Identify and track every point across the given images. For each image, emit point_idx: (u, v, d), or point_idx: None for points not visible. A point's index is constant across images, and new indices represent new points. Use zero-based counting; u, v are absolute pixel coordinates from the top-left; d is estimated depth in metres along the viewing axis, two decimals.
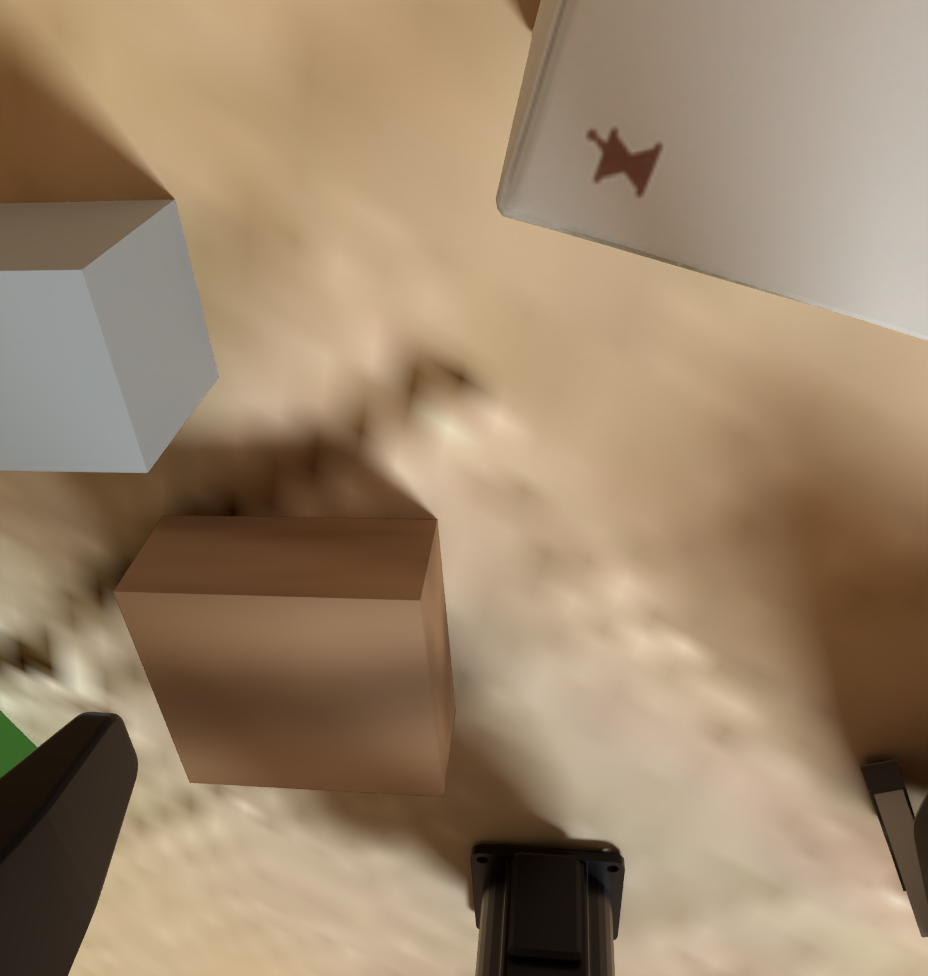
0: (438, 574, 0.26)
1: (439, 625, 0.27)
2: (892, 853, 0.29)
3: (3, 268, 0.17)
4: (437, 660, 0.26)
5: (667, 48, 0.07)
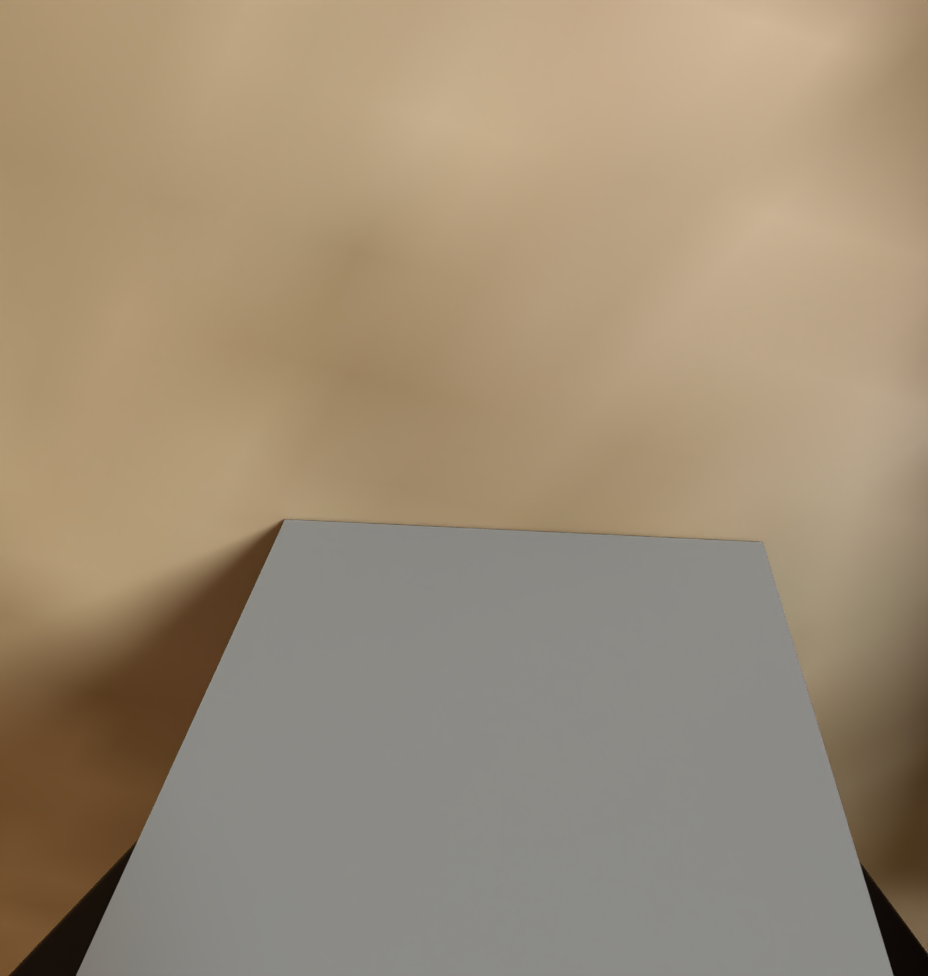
0: None
1: None
2: None
3: None
4: None
5: None
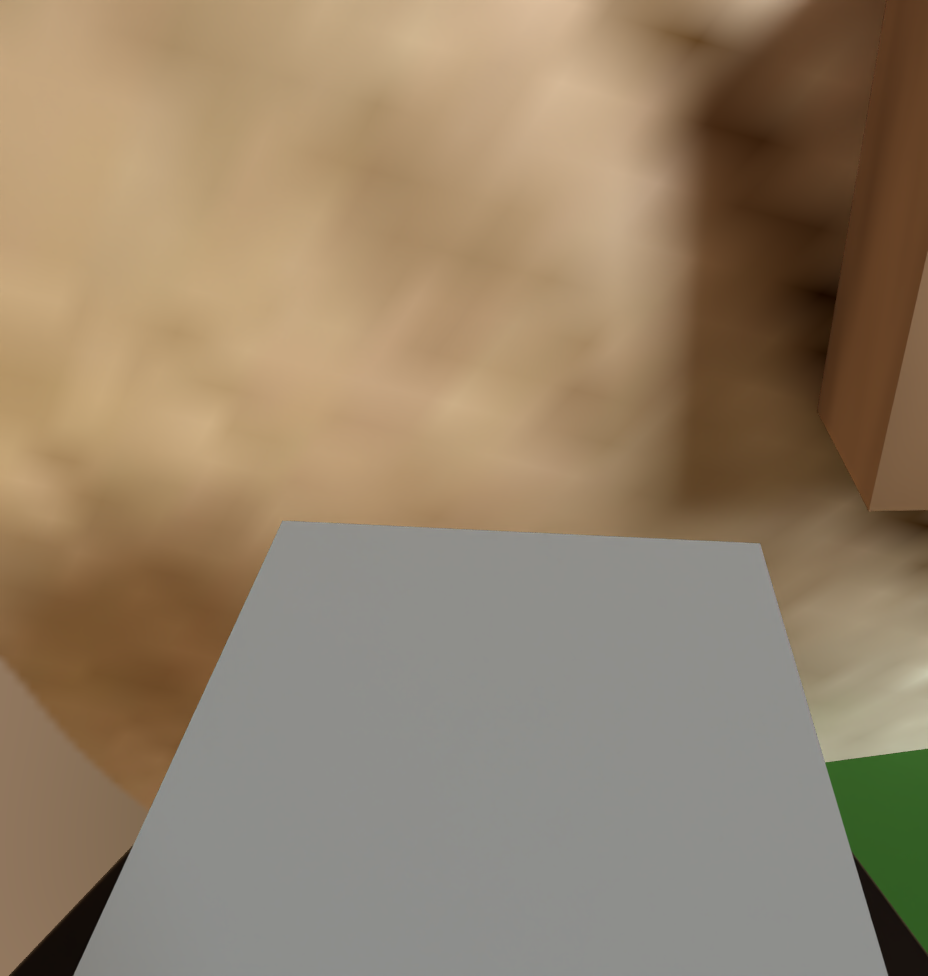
0: None
1: None
2: None
3: None
4: None
5: None
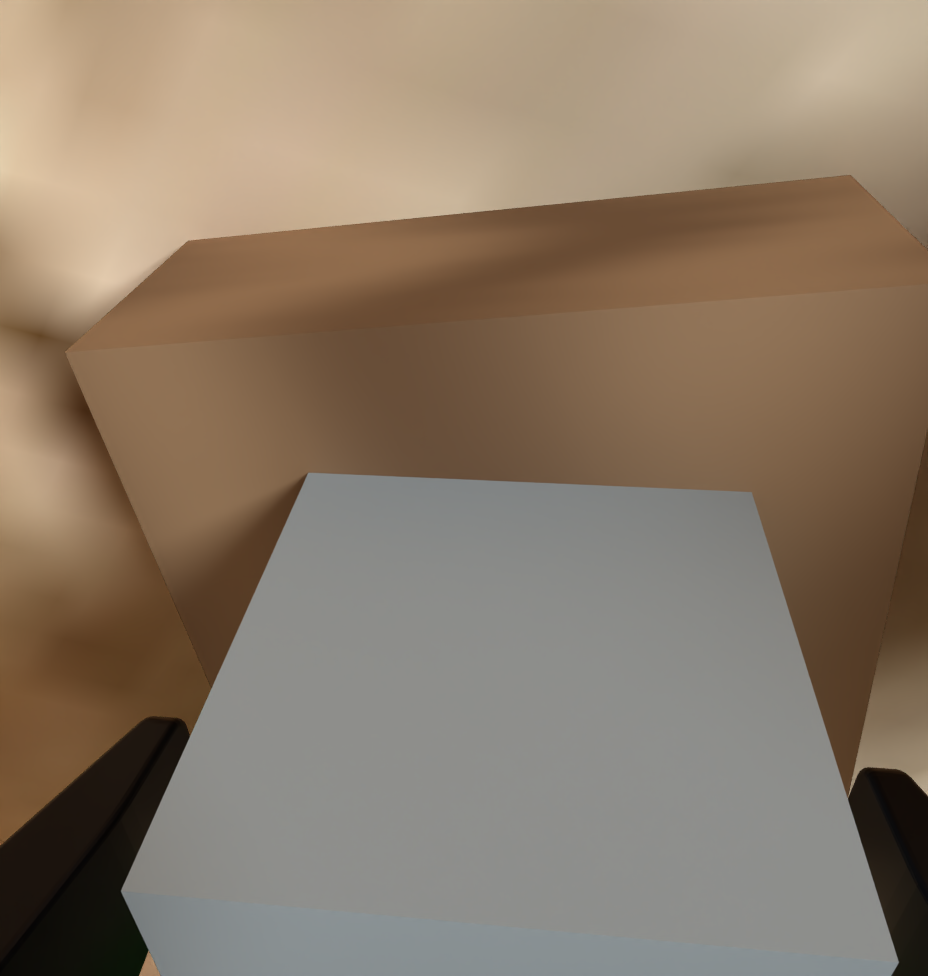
0: (286, 245, 0.11)
1: (387, 252, 0.10)
2: None
3: None
4: (433, 273, 0.10)
5: None
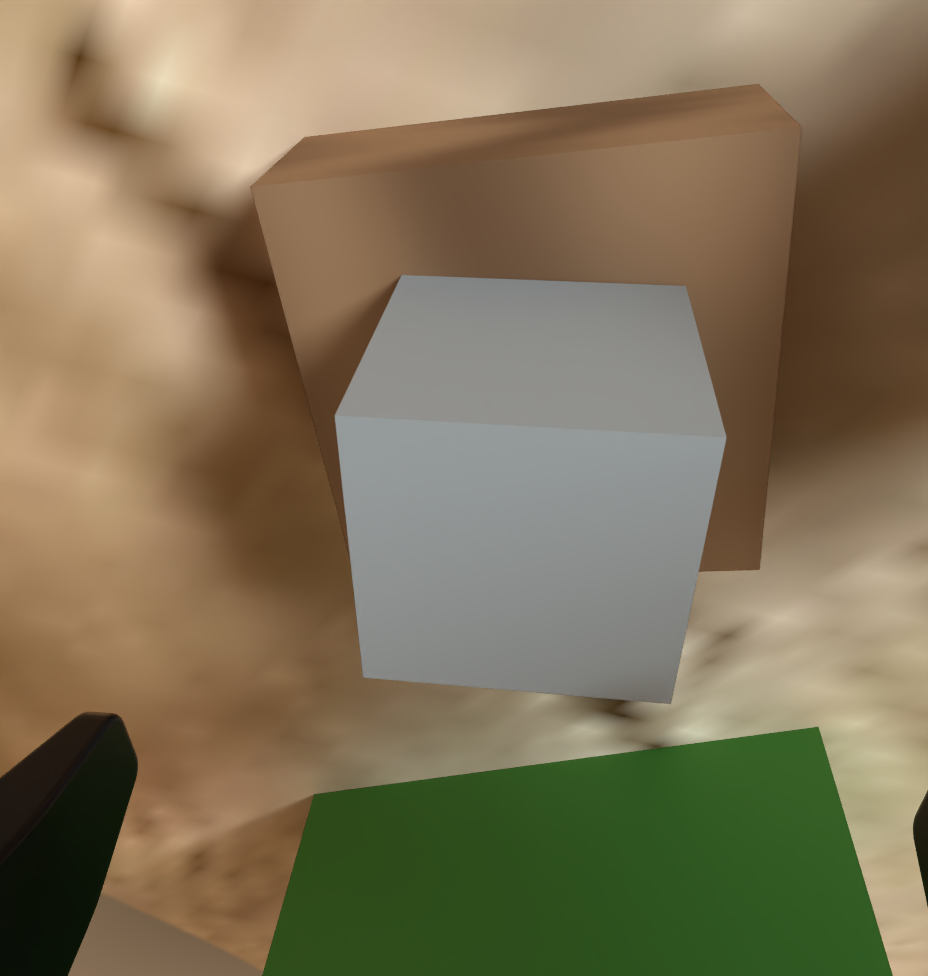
0: (376, 135, 0.16)
1: (449, 134, 0.16)
2: None
3: (348, 519, 0.12)
4: (481, 141, 0.15)
5: None
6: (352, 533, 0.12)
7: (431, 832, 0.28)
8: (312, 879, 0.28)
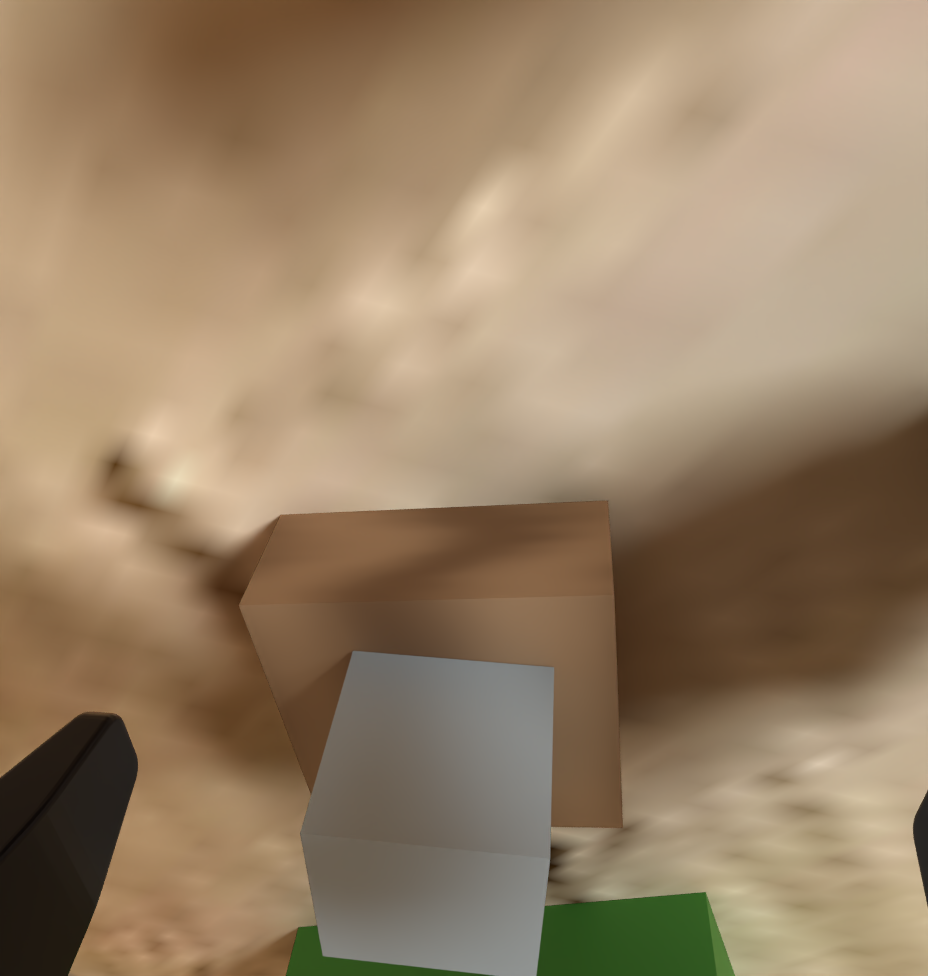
0: (332, 526, 0.22)
1: (383, 541, 0.22)
2: None
3: (310, 877, 0.18)
4: (403, 562, 0.21)
5: None
6: (313, 886, 0.18)
7: (393, 970, 0.34)
8: None
